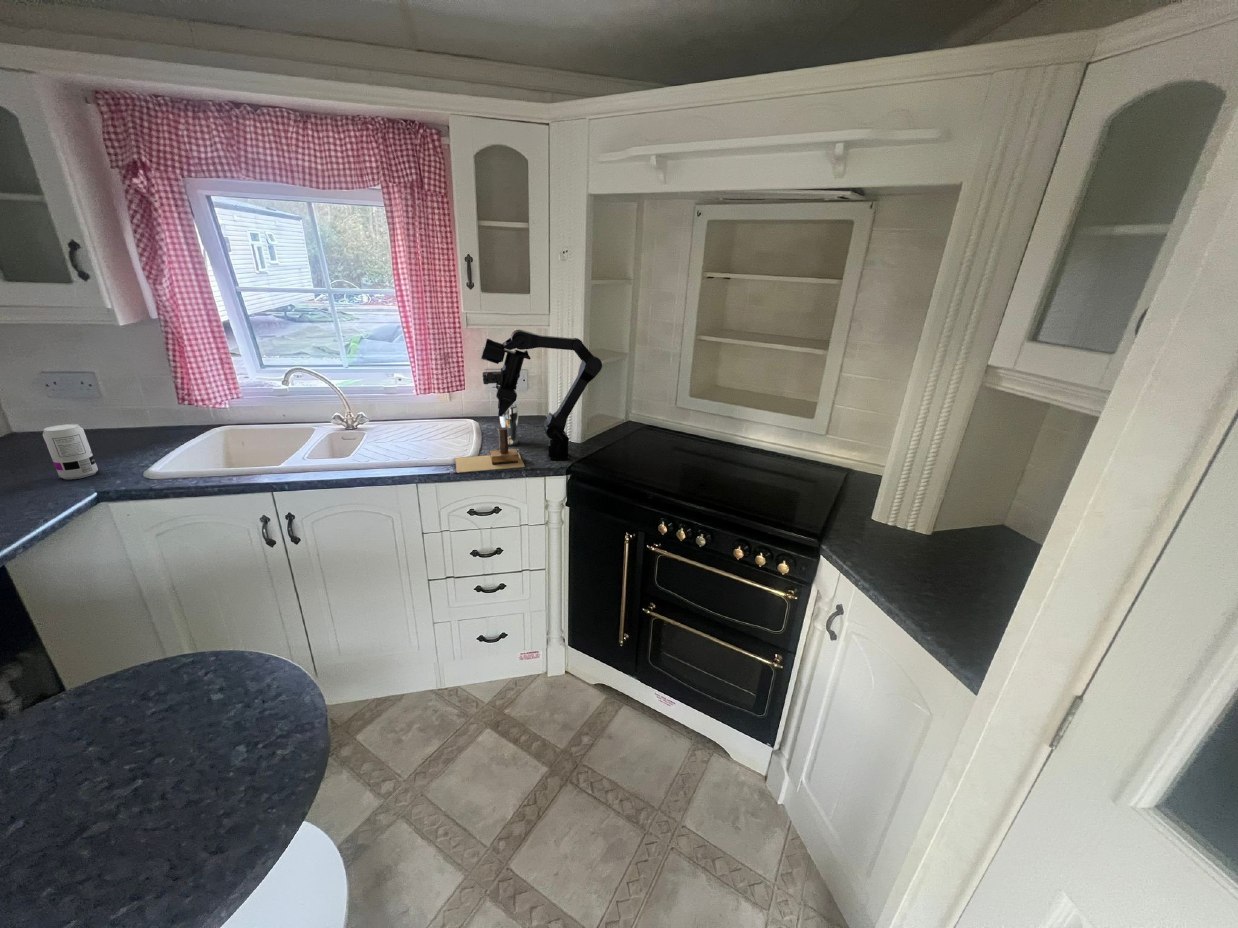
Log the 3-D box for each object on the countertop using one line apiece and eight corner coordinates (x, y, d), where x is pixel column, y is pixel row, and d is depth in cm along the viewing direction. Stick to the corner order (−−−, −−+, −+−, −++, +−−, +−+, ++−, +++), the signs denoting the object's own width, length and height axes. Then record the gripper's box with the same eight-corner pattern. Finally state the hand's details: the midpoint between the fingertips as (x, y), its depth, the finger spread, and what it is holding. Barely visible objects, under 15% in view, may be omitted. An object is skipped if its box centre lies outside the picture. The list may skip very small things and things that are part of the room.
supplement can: (51, 480, 144) (31, 431, 139) (75, 470, 152) (57, 423, 146) (83, 479, 145) (65, 431, 140) (106, 469, 153) (89, 423, 148)
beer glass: (521, 441, 193) (520, 403, 187) (516, 446, 186) (514, 408, 181) (504, 439, 193) (502, 402, 188) (498, 445, 187) (496, 406, 181)
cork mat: (518, 453, 179) (518, 452, 179) (524, 467, 167) (524, 466, 167) (455, 458, 172) (455, 457, 172) (456, 473, 160) (456, 472, 160)
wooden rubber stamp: (516, 457, 175) (515, 425, 170) (518, 463, 169) (517, 430, 165) (490, 459, 172) (488, 426, 168) (492, 465, 167) (490, 431, 162)
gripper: (487, 355, 167) (476, 398, 172) (487, 366, 151) (474, 413, 155) (519, 365, 171) (507, 407, 176) (522, 377, 154) (509, 422, 159)
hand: (499, 412), depth 166 cm, fingers open, 9 cm apart
